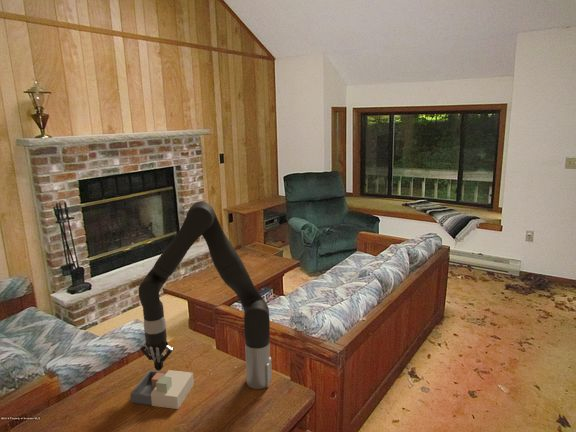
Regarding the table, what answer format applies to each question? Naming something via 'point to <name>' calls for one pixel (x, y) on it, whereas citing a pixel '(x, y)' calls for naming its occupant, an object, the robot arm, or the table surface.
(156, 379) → the orange cube
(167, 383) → the sage green cube
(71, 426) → the table surface
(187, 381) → the cream rectangular block
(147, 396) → the box
